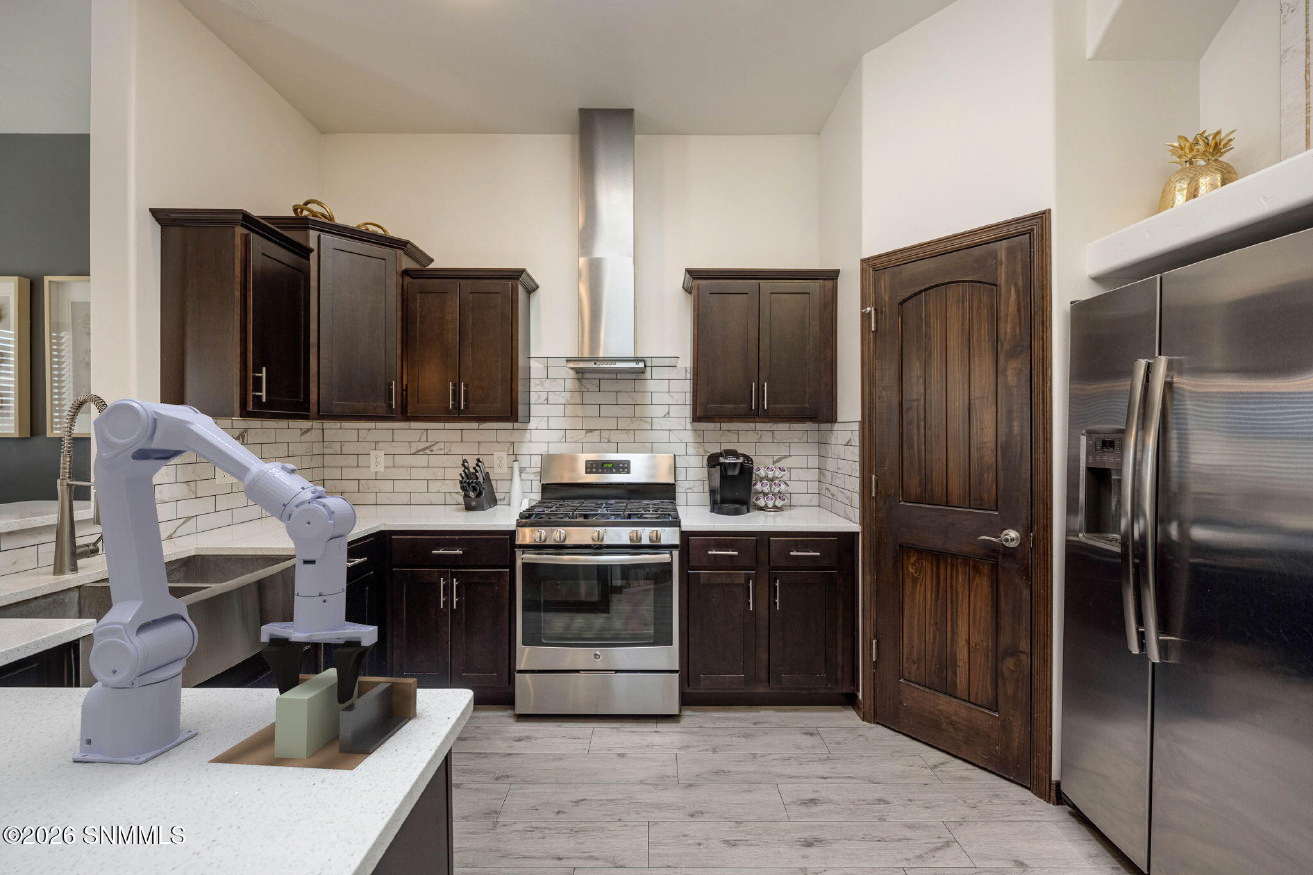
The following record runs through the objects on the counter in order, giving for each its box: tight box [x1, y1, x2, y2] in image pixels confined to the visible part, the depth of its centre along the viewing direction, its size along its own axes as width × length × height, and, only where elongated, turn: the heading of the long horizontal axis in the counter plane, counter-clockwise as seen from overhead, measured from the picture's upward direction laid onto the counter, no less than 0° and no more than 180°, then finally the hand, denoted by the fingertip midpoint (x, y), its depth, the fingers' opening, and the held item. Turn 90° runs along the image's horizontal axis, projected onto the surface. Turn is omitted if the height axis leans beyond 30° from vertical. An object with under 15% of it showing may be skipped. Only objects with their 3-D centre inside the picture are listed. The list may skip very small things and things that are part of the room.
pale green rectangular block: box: [274, 667, 358, 759], centre depth 74 cm, size 10×4×7 cm, turn 175°
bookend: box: [339, 683, 409, 756], centre depth 75 cm, size 4×9×5 cm, turn 175°
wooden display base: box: [207, 673, 418, 771], centre depth 75 cm, size 18×14×6 cm
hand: (317, 699), depth 74 cm, fingers open, 7 cm apart
